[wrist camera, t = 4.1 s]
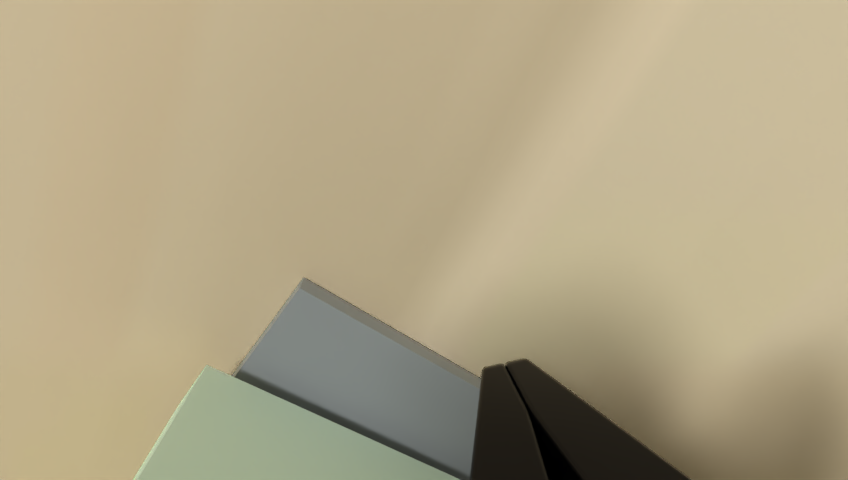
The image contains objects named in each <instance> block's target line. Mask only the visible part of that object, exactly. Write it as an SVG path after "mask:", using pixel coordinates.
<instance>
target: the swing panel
mask: <svg viewBox="0 0 848 480" xmlns="http://www.w3.org/2000/svg"><path fill="white" fill-rule="evenodd" d="M133 480H460V479H458V478H456V477H454V476H451V475H449V474H447V473H445V472H442V471H440V470H438V469H436V468H434V467H431V466H429V465H427V464H425V463H423V462H420V461H418V460H416V459H414V458H412V457H409V456H407V455H405V454H403V453H401V452H398V451H396V450H394V449H392V448H389V447H387V446H385V445H383V444H381V443H378V442H376V441H374V440H372V439H370V438H367V437H365V436H363V435H361V434H359V433H356V432H354V431H352V430H350V429H348V428H345V427H343V426H341V425H339V424H337V423H334V422H332V421H330V420H328V419H325V418H323V417H321V416H319V415H317V414H314V413H312V412H310V411H308V410H306V409H303V408H301V407H299V406H297V405H295V404H292V403H290V402H288V401H286V400H284V399H281V398H279V397H277V396H275V395H272V394H270V393H268V392H266V391H264V390H261V389H259V388H257V387H255V386H253V385H250V384H248V383H246V382H244V381H242V380H239V379H237V378H235V377H233V376H231V375H228V374H226V373H224V372H222V371H219V370H217V369H215V368H213V367H211V366H208V365H206V366H205V368H204V369H203V371H202V372H201V374H200V375H199V376H198V378H197V379H196V381H195V382H194V384H193V385H192V386H191V388H190V389H189V391H188V392H187V394H186V395H185V396H184V398H183V399H182V401H181V402H180V404H179V405H178V407H177V409H176V410H175V412H174V414H173V415H172V417H171V418H170V420H169V422H168V423H167V425H166V427H165V428H164V430H163V432H162V433H161V435H160V436H159V438H158V440H157V441H156V443H155V445H154V446H153V448H152V449H151V451H150V453H149V454H148V456H147V458H146V459H145V461H144V462H143V464H142V466H141V467H140V469H139V471H138V472H137V474H136V475H135V477H134V479H133Z"/></svg>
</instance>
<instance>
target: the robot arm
mask: <svg viewBox="0 0 848 480" xmlns="http://www.w3.org/2000/svg"><path fill="white" fill-rule="evenodd" d="M470 480H691V479H690V478H689V477H687V476H686V475H685V474H683V473H682V472H680V471H679V470H678V469H676V468H675V467H674V466H672V465H671V464H670V463H668V462H667V461H665V460H664V459H663V458H661V457H660V456H659V455H657V454H656V453H655V452H653V451H652V450H650V449H649V448H648V447H646V446H645V445H644V444H642V443H641V442H640V441H638V440H637V439H635V438H634V437H633V436H631V435H630V434H629V433H627V432H626V431H625V430H623V429H622V428H620V427H619V426H618V425H616V424H615V423H614V422H612V421H611V420H610V419H608V418H607V417H605V416H604V415H603V414H601V413H600V412H599V411H597V410H596V409H595V408H593V407H592V406H590V405H589V404H588V403H586V402H585V401H584V400H582V399H581V398H580V397H578V396H577V395H575V394H574V393H573V392H571V391H570V390H569V389H567V388H566V387H565V386H563V385H562V384H560V383H559V382H558V381H556V380H555V379H554V378H552V377H551V376H550V375H548V374H547V373H545V372H544V371H543V370H541V369H540V368H539V367H537V366H536V365H535V364H533V363H532V362H530V361H529V360H527V359H518V360H514V361H509V362H507V363H506V364H505V366H504V365H503V364H496V365H492V366H487V367H484V368H483V370H482V376H481V384H480V393H479V402H478V410H477V419H476V428H475V436H474V445H473V454H472V463H471V471H470Z"/></svg>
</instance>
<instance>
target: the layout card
mask: <svg viewBox="0 0 848 480" xmlns="http://www.w3.org/2000/svg"><path fill="white" fill-rule="evenodd" d="M232 376H233V377H235V378H237V379H239V380H242V381H244V382H246V383H248V384H250V385H253V386H255V387H257V388H259V389H261V390H264V391H266V392H268V393H270V394H272V395H275V396H277V397H279V398H281V399H284V400H286V401H288V402H290V403H292V404H295V405H297V406H299V407H301V408H303V409H306V410H308V411H310V412H312V413H314V414H317V415H319V416H321V417H323V418H325V419H328V420H330V421H332V422H334V423H337V424H339V425H341V426H343V427H345V428H348V429H350V430H352V431H354V432H356V433H359V434H361V435H363V436H365V437H367V438H370V439H372V440H374V441H376V442H378V443H381V444H383V445H385V446H387V447H389V448H392V449H394V450H396V451H398V452H401V453H403V454H405V455H407V456H409V457H412V458H414V459H416V460H418V461H420V462H423V463H425V464H427V465H429V466H431V467H434V468H436V469H438V470H440V471H442V472H445V473H447V474H449V475H451V476H454V477H456V478H458V479H460V480H470V471H471V463H472V454H473V445H474V436H475V428H476V419H477V410H478V402H479V393H480V384H481V378H479V377H477V376H475V375H474V374H472V373H470V372H468V371H467V370H465V369H463V368H461V367H460V366H458V365H456V364H454V363H453V362H451V361H449V360H447V359H446V358H444V357H442V356H440V355H439V354H437V353H435V352H433V351H432V350H430V349H428V348H426V347H425V346H423V345H421V344H419V343H418V342H416V341H414V340H412V339H411V338H409V337H407V336H405V335H404V334H402V333H400V332H399V331H397V330H395V329H393V328H392V327H390V326H388V325H386V324H385V323H383V322H381V321H379V320H378V319H376V318H374V317H372V316H371V315H369V314H367V313H365V312H364V311H362V310H360V309H358V308H357V307H355V306H353V305H351V304H350V303H348V302H346V301H344V300H343V299H341V298H339V297H337V296H336V295H334V294H332V293H330V292H329V291H327V290H325V289H323V288H322V287H320V286H318V285H316V284H315V283H313V282H311V281H309V280H308V279H306V278H303V279H302V281H301V282H300V283H299V285H298V286H297V287H296V289H295V290H294V291H293V293H292V294H291V296H290V297H289V298H288V300H287V301H286V302H285V304H284V305H283V306H282V308H281V309H280V311H279V312H278V313H277V315H276V316H275V317H274V319H273V320H272V322H271V323H270V324H269V326H268V327H267V328H266V330H265V331H264V332H263V334H262V335H261V337H260V338H259V339H258V341H257V342H256V343H255V345H254V346H253V347H252V349H251V350H250V352H249V353H248V354H247V356H246V357H245V358H244V360H243V361H242V363H241V364H240V365H239V367H238V368H237V369H236V371H235V372H234V373H233V375H232Z"/></svg>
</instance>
